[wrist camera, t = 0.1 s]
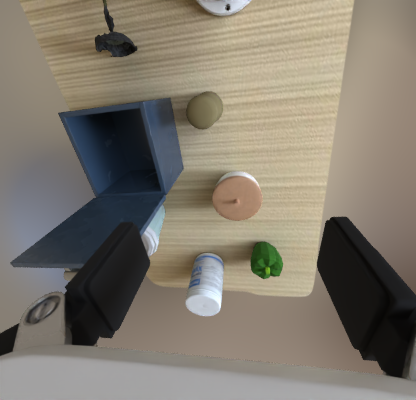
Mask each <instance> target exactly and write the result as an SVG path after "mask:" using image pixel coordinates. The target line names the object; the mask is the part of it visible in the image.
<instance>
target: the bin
mask: <svg viewBox="0 0 416 400" xmlns="http://www.w3.org/2000/svg"><path fill="white" fill-rule="evenodd" d="M58 114H59V116H60V118H61V121H62V123H63V125H64V127H65V130H66V132H67V134H68V136H69V138H70V141H71V143H72V145H73V147H74V150H75V152H76V154H77V156H78V158H79V160H80V163H81V165H82V167H83V170H84V172H85V174H86V176H87V179H88V181H89V183H90V185H91V187H92V190H93V192H94V194H95V196H96V198H105V197H126V196H147V195H167V193H168V192H169V190H170V189H171V187H172V186H173V184H174V183H175V181H176V180H177V178H178V177H179V175H180V173H181V172H182V170H183V169H184V168H183V162H182V157H181V152H180V146H179V141H178V136H177V130H176V125H175V120H174V114H173V109H172V104H171V98H164V99H157V100H149V101H142V102H134V103H127V104H119V105H112V106H104V107H97V108H90V109H83V110H75V111H68V112H61V113H58Z"/></svg>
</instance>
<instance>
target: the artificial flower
mask: <svg viewBox="0 0 416 400" xmlns="http://www.w3.org/2000/svg"><path fill="white" fill-rule="evenodd" d="M103 3H104V15H105V19H106V22H107V25H108V27H109V30H110V33H109V34H105V33H104V35H101V36H100V35H98V36H97V37H95V45H96V50H97V51H98V52H101V51H102V50H108V51H110V52H111V54H112V56H113V57H123V56H127V55H129V54H132V53H134V52H135V51H137V46H134V44H133V42H132V41H131V40H130V39H129V38H128V37H127V36H125V35H124V34H122V33H118V32H113V28H114V23H113V18H112V17H111V16H110V15H109V12H108V9H107V3H106V0H103ZM112 56H110V57H112Z"/></svg>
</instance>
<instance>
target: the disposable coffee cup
mask: <svg viewBox="0 0 416 400" xmlns="http://www.w3.org/2000/svg"><path fill="white" fill-rule="evenodd" d="M164 216H165V208H164V206H163V205H161V207H160V208H159V210H158V212H157V213H156V215H155V216H154V218H153V219H152V221H151V222H150V224H149V226H148V227H147V229H146V230H145V232H144V233H143V235H142V237H141V238H142V240H143V243H144V246H145V249H146V251H147V254H148V257H150V256H151V255H152V254H153V253H155V251H156V250H157V248H158V244H159V240H158V238H159V235H160V231H161V227H162V224H163V220H164Z"/></svg>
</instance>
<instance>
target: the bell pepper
mask: <svg viewBox="0 0 416 400" xmlns="http://www.w3.org/2000/svg"><path fill="white" fill-rule="evenodd" d="M282 267H283V262H282V258H281V256H280V255H279V253H278V251H277V250H276V248H275V247H273V246H272V245H270V244H269V243H267V242H260V243H257V244H256V246H255V247H254V249H253V252H252V256H251V270H252V272H253V273H254V274H256V275H258V276H259V277H261V278H263V279H266V278H269V277H270V276H280V273H281V271H282Z"/></svg>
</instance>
